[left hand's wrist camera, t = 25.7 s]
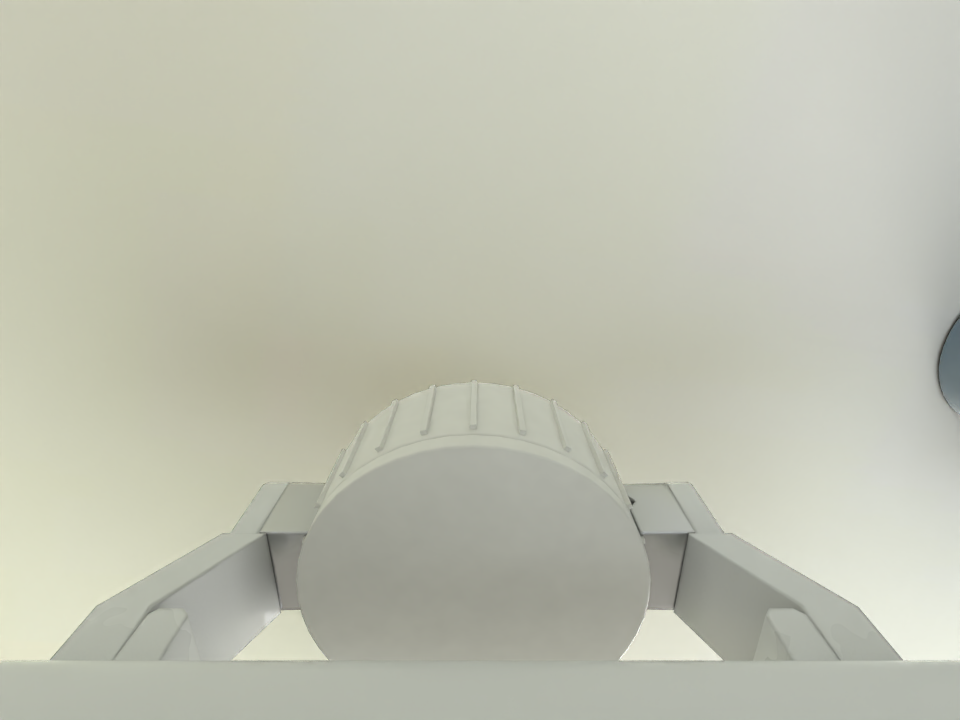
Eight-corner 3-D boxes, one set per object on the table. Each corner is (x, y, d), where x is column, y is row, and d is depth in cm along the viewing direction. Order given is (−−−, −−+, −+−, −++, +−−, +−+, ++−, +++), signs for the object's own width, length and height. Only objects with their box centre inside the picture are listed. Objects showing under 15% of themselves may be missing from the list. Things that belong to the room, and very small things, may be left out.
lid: (679, 486, 11) (731, 573, 8) (498, 654, 12) (503, 763, 10) (443, 316, 9) (432, 365, 7) (278, 530, 11) (226, 624, 9)
